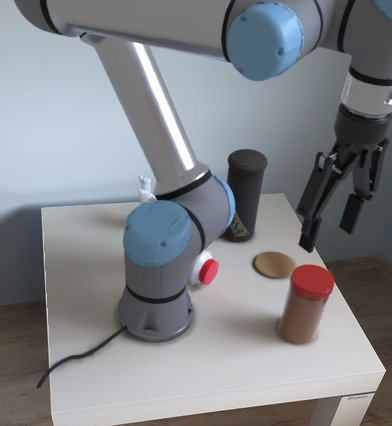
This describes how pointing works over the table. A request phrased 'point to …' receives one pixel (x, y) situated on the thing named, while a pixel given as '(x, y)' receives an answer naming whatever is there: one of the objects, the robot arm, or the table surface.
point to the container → (244, 192)
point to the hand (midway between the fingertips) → (326, 239)
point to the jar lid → (312, 282)
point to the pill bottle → (202, 269)
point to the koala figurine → (145, 190)
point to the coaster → (274, 265)
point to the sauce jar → (300, 318)
